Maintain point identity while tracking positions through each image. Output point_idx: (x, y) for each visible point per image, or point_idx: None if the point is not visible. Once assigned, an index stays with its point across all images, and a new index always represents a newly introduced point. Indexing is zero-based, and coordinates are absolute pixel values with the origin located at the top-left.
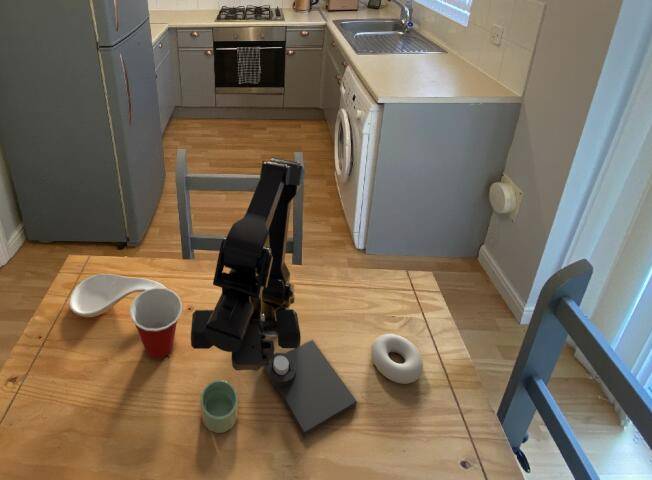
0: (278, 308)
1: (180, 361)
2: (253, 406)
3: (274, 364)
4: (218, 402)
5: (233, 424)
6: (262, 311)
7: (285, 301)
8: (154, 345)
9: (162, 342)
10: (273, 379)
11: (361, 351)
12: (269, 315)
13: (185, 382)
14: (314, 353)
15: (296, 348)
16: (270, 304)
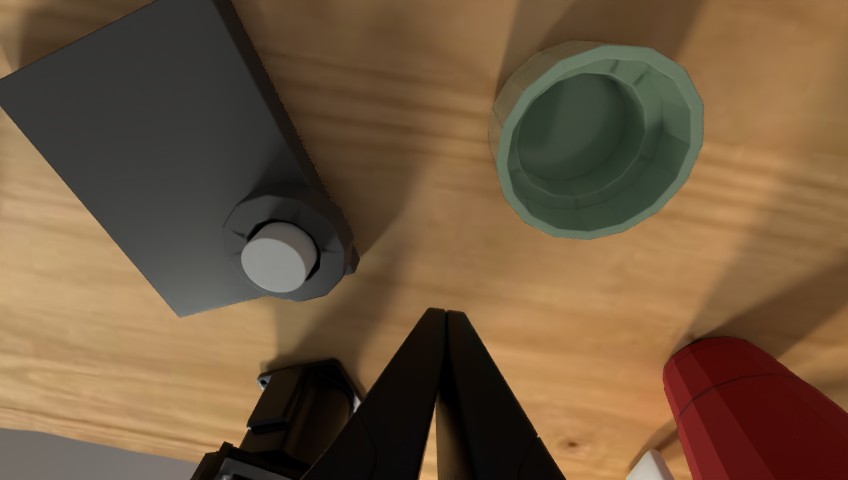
0: (268, 443)
1: (654, 318)
2: (420, 135)
3: (303, 264)
4: (560, 166)
5: (522, 66)
6: (340, 422)
7: (231, 468)
8: (824, 408)
9: (793, 418)
10: (319, 211)
11: (27, 260)
12: (316, 411)
13: (661, 253)
14: (170, 277)
15: (235, 301)
16: (296, 462)
